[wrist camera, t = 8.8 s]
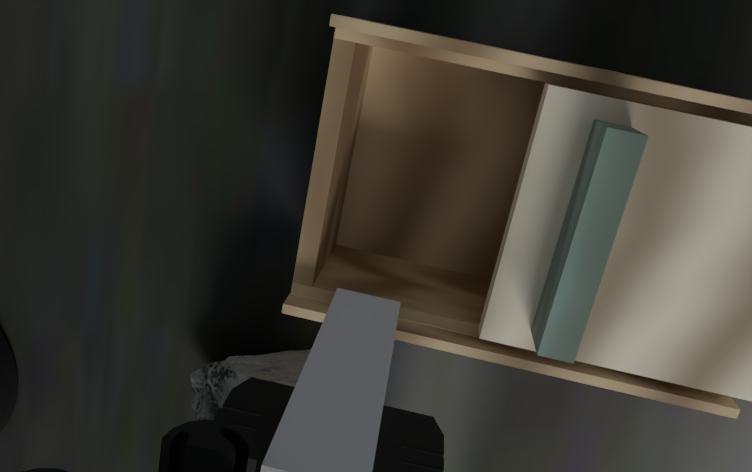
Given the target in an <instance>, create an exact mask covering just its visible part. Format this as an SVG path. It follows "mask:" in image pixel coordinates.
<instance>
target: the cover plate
mask: <svg viewBox="0 0 752 472" xmlns="http://www.w3.org/2000/svg"><path fill="white" fill-rule="evenodd" d="M478 330H479V339H483V340H488V341H492V342H496V343H501V344H505V345H509V346H514V347H518V348H522V349H527V350H531V351H535V352H536V353H537V355H538V356H543V357H547V358H551V359H556V360H560V361H564V362H569V363H573V364H574V361H579V362H583V363H587V364H592V365H596V366H600V367H605V368H609V369H613V370H618V371H622V372H626V373H631V374H635V375H639V376H644V377H648V378H652V379H657V380H661V381H665V382H670V383H674V384H678V385H683V386H687V387H691V388H696V389H700V390H704V391H709V392H713V393H717V394H722V395H726V396H730V397H735V398H739V399H743V400H748V401H752V126H750V125H745V124H740V123H735V122H731V121H726V120H721V119H716V118H712V117H707V116H702V115H697V114H692V113H688V112H683V111H678V110H673V109H669V108H664V107H659V106H654V105H650V104H645V103H640V102H635V101H630V100H626V99H621V98H616V97H611V96H607V95H602V94H597V93H592V92H588V91H583V90H578V89H573V88H568V87H564V86H559V85H554V84H549V83H545V85H544V88H543V92H542V96H541V99H540V103H539V107H538V110H537V114H536V118H535V121H534V125H533V129H532V133H531V136H530V140H529V144H528V147H527V151H526V155H525V158H524V162H523V166H522V169H521V173H520V177H519V180H518V184H517V188H516V191H515V195H514V199H513V202H512V206H511V210H510V213H509V217H508V221H507V224H506V228H505V232H504V235H503V239H502V243H501V246H500V250H499V254H498V257H497V261H496V265H495V268H494V272H493V276H492V279H491V283H490V287H489V290H488V294H487V298H486V301H485V305H484V309H483V313H482V316H481V320H480V324H479V327H478Z"/></svg>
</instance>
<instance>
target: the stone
mask: <svg viewBox="0 0 752 472" xmlns="http://www.w3.org/2000/svg"><path fill="white" fill-rule="evenodd" d="M310 351H311V349H307V350H299V351H295V350H291V351H283V352H278V353H270V354H262V355H255V356H252V355H245V356H229V357H228V358H227V359H225V360H224V361H218V362H212V363H209V364H208V365H206V366H204V367H202V369H199V370H197V371H195V372H193V373H192V374H191V376H190V378H191V382H192V391H193V395H194V398H193V401H192V406H191V409H192V410H193V411H194V412H195V413H196V414H197V417H198V419H199V420H214V419H215V417H216V415H217V413H218V412H219V410H220V408H222V406H223V403H224V402H225V400H226V398H227V397H228V395H229V393H230V392H231V390H232V389H233V388H234V387H236V386H237V385H239V384H241V383H242V382H244V381H246V380H247V379H249V378H251V377H254V378H258V379H263V380H267V381H271V382H276V383H280V384H284V385H289V386H293V387H295V386H296V384H297V381H298V379H299V377H300V374H301V372H302V370H303V367H304V365H305V362H306V360H307V358H308V355H309V353H310Z"/></svg>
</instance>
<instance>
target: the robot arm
mask: <svg viewBox="0 0 752 472" xmlns="http://www.w3.org/2000/svg"><path fill="white" fill-rule="evenodd" d="M400 304H401V302H399V301H394V300H390V299H385V298H381V297H376V296H372V295H367V294H363V293H359V292H354V291H350V290H345V289H341V288H337V290H336V292H335V295H334V297H333V299H332V302H331V304H330V306H329V309H328V311H327V313H326V316H325V318H324V320H323V323H322V325H321V327H320V330H319V332H318V334H317V337H316V339H315V341H314V344H313V346H312V348H311V351H310V353H309V355H308V358H307V360H306V362H305V365H304V367H303V370H302V372H301V374H300V377H299V379H298V381H297V384H296V386H295V387H293V386H289V385H284V384H280V383H276V382H271V381H267V380H263V379H258V378H254V377H251V378H249V379H247V380H246V381H244V382H242V383H241V384H239V385H237V386H236V387H234V388H233V389H232V390H231V392H230V393H229V395H228V397H227V398H226V400H225V402H224V403H223V406H222V408H220V410H219V412H218V413H217V415H216V417H215V419H214V420H198V421H190V422H187V423H184V424H182V425H179V426H177V427H174V428H173V429H171V430H170V431H169V432H168V433H167V434H166V435H165V436H164V437H163V438H162V443H161V452H160V461H159V470H158V472H443V470H444V458H443V455H444V435H443V433H442V431H441V430H440V428H439V426H438V424H437V423H436V421H435V419H434V418H433V417H432V416H427V415H423V414H419V413H414V412H410V411H406V410H401V409H397V408H393V407H388V406H384V399H385V393H386V387H387V381H388V375H389V369H390V363H391V357H392V351H393V345H394V339H395V333H396V327H397V321H398V315H399V309H400ZM16 397H17V372H16V366H15V362H14V358H13V355H12V352H11V350H10V347H9V345H8V342H7V340H6V338H5V336H4V335H3V333H2V331H1V329H0V432H1V431H2V429H3V428H4V427H5V425H6V424H7V422H8V421H9V419H10V417H11V415H12V412H13V409H14V406H15V402H16ZM23 472H68V471H64V470H60V469H57V468H36V469H31V470H27V471H23Z"/></svg>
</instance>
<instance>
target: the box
mask: <svg viewBox="0 0 752 472" xmlns="http://www.w3.org/2000/svg"><path fill="white" fill-rule="evenodd" d="M329 26H332V27H336V28H335V34H334V40H333V46H332V51H331V57H330V63H329V69H328V75H327V81H326V87H325V93H324V99H323V105H322V111H321V117H320V122H319V128H318V134H317V140H316V146H315V152H314V158H313V164H312V170H311V176H310V182H309V188H308V193H307V199H306V205H305V211H304V217H303V223H302V229H301V235H300V241H299V247H298V253H297V259H296V264H295V270H294V276H293V282H292V288H291V294H289V295H288V297H287V298H286V300H285V302H284V303H283V307H282V313H283V314H287V315H292V316H296V317H300V318H305V319H309V320H313V321H317V322H322V323H323V320H324V318H325V316H326V313H327V311H328V309H329V306H330V304H331V302H332V299H333V297H334V295H335V292H336V290H337V288H341V289H345V290H350V291H354V292H359V293H363V294H367V295H372V296H376V297H381V298H385V299H390V300H394V301H399V302H401V304H400V309H399V315H398V321H397V327H396V333H395V340H399V341H403V342H408V343H412V344H416V345H421V346H425V347H429V348H434V349H438V350H442V351H446V352H451V353H455V354H459V355H464V356H468V357H472V358H477V359H481V360H485V361H489V362H494V363H498V364H502V365H507V366H511V367H515V368H520V369H524V370H528V371H532V372H537V373H541V374H545V375H550V376H554V377H558V378H563V379H567V380H571V381H575V382H580V383H584V384H588V385H593V386H597V387H601V388H606V389H610V390H614V391H618V392H623V393H627V394H631V395H636V396H640V397H644V398H649V399H653V400H657V401H661V402H666V403H670V404H674V405H679V406H683V407H687V408H692V409H696V410H700V411H705V412H709V413H713V414H717V415H722V416H726V417H730V418H735V419H737V417H738V415H739V412H740V409H739V407H738V406H737V405H736V403H735V402H734V401H733V399H732V398H731V397H730V396H726V395H722V394H717V393H713V392H709V391H704V390H700V389H696V388H691V387H687V386H683V385H678V384H674V383H670V382H665V381H661V380H657V379H652V378H648V377H644V376H639V375H635V374H631V373H626V372H622V371H618V370H613V369H609V368H605V367H600V366H596V365H592V364H587V363H583V362H579V361H574V364H573V363H569V362H564V361H560V360H556V359H551V358H547V357H543V356H538V355H537V353H536V352H535V351H531V350H527V349H522V348H518V347H514V346H509V345H505V344H501V343H496V342H492V341H488V340H483V339H479V330H478V327H479V324H480V320H481V316H482V313H483V309H484V305H485V301H486V298H487V294H488V290H489V287H490V283H491V279H492V276H493V272H494V268H495V265H496V261H497V257H498V254H499V250H500V246H501V243H502V239H503V235H504V232H505V228H506V224H507V221H508V217H509V213H510V210H511V206H512V202H513V199H514V195H515V191H516V188H517V184H518V180H519V177H520V173H521V169H522V166H523V162H524V158H525V155H526V151H527V147H528V144H529V140H530V136H531V133H532V129H533V125H534V121H535V118H536V114H537V110H538V107H539V103H540V99H541V96H542V92H543V88H544V85H545V83H549V84H554V85H559V86H564V87H568V88H573V89H578V90H583V91H588V92H592V93H597V94H602V95H607V96H611V97H616V98H621V99H626V100H630V101H635V102H640V103H645V104H650V105H654V106H659V107H664V108H669V109H673V110H678V111H683V112H688V113H692V114H697V115H702V116H707V117H712V118H716V119H721V120H726V121H731V122H735V123H740V124H745V125H750V126H752V100H750V99H745V98H740V97H735V96H730V95H725V94H721V93H716V92H711V91H706V90H701V89H697V88H692V87H687V86H682V85H677V84H673V83H668V82H663V81H658V80H653V79H648V78H644V77H639V76H634V75H629V74H624V73H620V72H615V71H610V70H605V69H600V68H595V67H591V66H586V65H581V64H576V63H571V62H567V61H562V60H557V59H552V58H547V57H543V56H538V55H533V54H528V53H523V52H518V51H514V50H509V49H504V48H499V47H494V46H490V45H485V44H480V43H475V42H470V41H466V40H461V39H456V38H451V37H446V36H441V35H437V34H432V33H427V32H422V31H417V30H413V29H408V28H403V27H398V26H393V25H388V24H384V23H379V22H374V21H369V20H364V19H359V18H353V17H348V16H342V15H336V14H331V18H330V24H329Z"/></svg>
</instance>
